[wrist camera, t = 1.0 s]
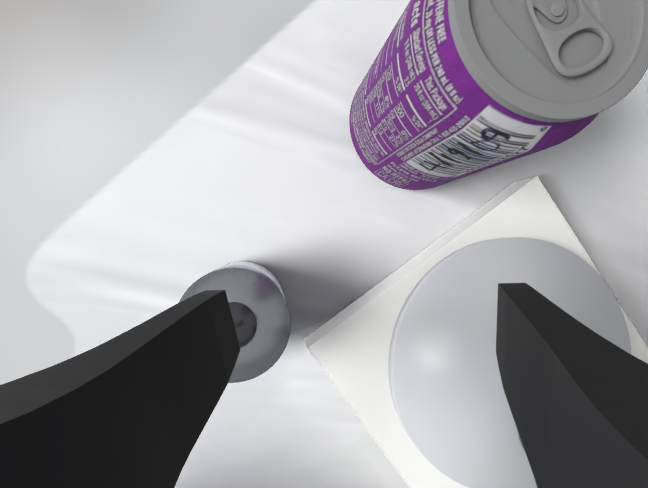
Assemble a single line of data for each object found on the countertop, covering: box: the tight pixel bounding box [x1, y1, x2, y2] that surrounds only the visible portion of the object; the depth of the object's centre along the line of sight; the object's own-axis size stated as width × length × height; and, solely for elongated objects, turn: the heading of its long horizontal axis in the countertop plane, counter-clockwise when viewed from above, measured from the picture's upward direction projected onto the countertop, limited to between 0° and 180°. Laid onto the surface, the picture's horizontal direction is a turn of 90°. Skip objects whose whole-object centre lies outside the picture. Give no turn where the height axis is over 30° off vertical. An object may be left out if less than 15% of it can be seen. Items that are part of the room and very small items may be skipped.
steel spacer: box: [179, 261, 291, 383], centre depth 19 cm, size 4×4×6 cm
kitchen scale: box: [304, 176, 648, 488], centre depth 22 cm, size 15×14×3 cm
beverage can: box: [349, 0, 648, 190], centre depth 17 cm, size 7×7×12 cm
